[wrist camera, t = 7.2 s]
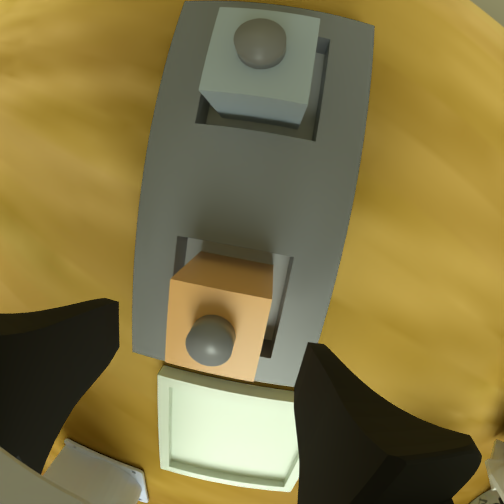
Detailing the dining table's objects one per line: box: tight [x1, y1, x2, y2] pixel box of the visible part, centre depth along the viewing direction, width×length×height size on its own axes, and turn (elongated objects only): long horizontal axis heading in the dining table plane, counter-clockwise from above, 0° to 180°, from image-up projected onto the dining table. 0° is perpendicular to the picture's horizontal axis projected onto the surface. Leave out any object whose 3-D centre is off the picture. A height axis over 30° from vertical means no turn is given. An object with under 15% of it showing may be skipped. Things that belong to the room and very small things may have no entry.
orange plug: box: [165, 251, 274, 382], centre depth 14 cm, size 4×4×6 cm
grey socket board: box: [132, 1, 374, 387], centre depth 15 cm, size 10×20×2 cm, turn 170°
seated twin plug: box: [199, 7, 320, 130], centre depth 11 cm, size 4×4×6 cm
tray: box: [158, 365, 299, 492], centre depth 19 cm, size 12×12×1 cm
